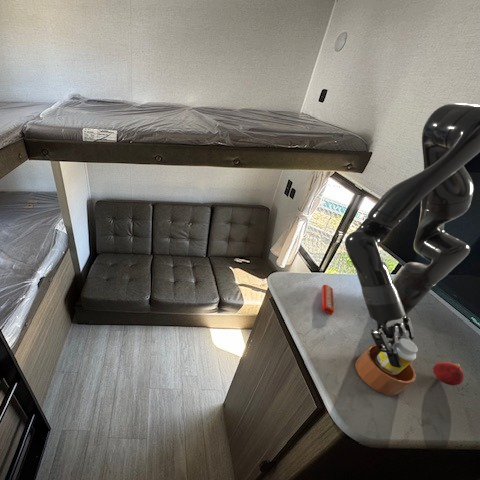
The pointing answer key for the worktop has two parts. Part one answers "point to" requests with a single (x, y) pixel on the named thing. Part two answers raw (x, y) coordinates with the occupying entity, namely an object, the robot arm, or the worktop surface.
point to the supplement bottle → (405, 354)
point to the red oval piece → (448, 373)
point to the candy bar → (327, 299)
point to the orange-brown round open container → (382, 374)
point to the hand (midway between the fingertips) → (403, 362)
